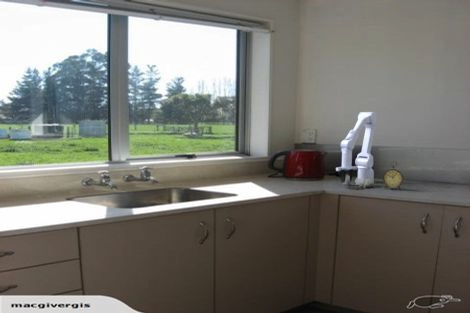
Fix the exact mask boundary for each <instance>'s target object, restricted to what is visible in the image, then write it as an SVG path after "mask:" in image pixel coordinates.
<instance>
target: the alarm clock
mask: <svg viewBox="0 0 470 313" xmlns="http://www.w3.org/2000/svg"><path fill="white" fill-rule="evenodd" d="M393 162H395V165H392V163H393ZM397 164H398V163H397V161H396V160H391V162H390V166H391V168H388V169H386V170H385V171H384V172H383V174H382V182H383V184H384V185H385V187H384V190H385V189H386V188H391V189H395V188H396V189H397V188H398V189H399V190H400V191H402V188H401V185H402V184H403V182H404V173H403V172H402V171H401V170H400V169H398V168H396V166H397Z"/></svg>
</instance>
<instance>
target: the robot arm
mask: <svg viewBox="0 0 470 313" xmlns="http://www.w3.org/2000/svg"><path fill="white" fill-rule="evenodd" d="M377 121H378V115H377V113H376V112H375V111H361V112H359V114H358V116H357V122H356V123H355V126H354V127H353V129H350V130H349V132H348V134H347V135H346V137H345V139H342V141H341V142H340V145H339V146H340V150H341V166H339V167H335V171H336V172H337V173H338V175H339V178H340V182H341V183H342V182H343V183H344V182H345V175H346V174H347V175H350V183H351V182H352V179H353V177H354V174H355V172H356V170H357V178H361V179H365V178H372V179H373V181H375V180H374V176H375V173H374V172H375V171H374V170H373V168H372V167H373V166H374V156H373V154H371V150H372V146H373V145H372V144H373V139H374V135H375V130H376V127H377ZM363 127H365V131H364V136H363V141H362V147H361V152H359V153H358V154H357V157H356V158H355V162H354V163H355V165H354V166H352V162H353V161H352V160H353V149H354V148H355V144H356V141H357V139H358V138H359V136H360V135H359V133H360V131H361V130H362V128H363ZM354 182H355V183H356V180H354Z"/></svg>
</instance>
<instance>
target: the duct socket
mask: <svg viewBox="0 0 470 313" xmlns="http://www.w3.org/2000/svg"><path fill="white" fill-rule="evenodd" d="M355 181H356V182H355V184H354V183H351V184H347V185H345V189H348V190H362V189H365V188H370V187H371V188H372V187H374V184H375V180H373V179H372V178H365V179H361V178H358V177H355Z"/></svg>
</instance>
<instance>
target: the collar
mask: <svg viewBox="0 0 470 313" xmlns="http://www.w3.org/2000/svg"><path fill="white" fill-rule="evenodd" d="M350 183H351V182H350V175H347V173H346V175H345V182H344V183H343V182H341V184H342V185H343V186H346V185H347V184H350Z"/></svg>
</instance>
